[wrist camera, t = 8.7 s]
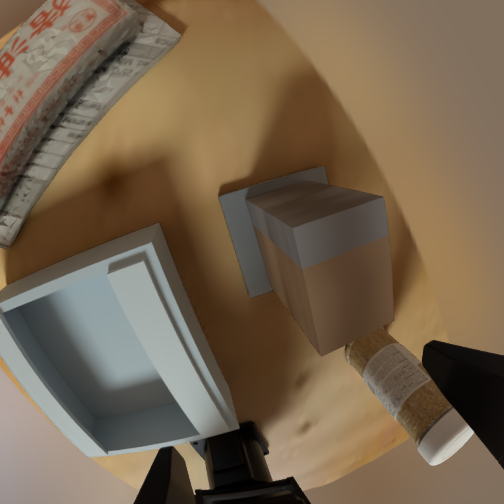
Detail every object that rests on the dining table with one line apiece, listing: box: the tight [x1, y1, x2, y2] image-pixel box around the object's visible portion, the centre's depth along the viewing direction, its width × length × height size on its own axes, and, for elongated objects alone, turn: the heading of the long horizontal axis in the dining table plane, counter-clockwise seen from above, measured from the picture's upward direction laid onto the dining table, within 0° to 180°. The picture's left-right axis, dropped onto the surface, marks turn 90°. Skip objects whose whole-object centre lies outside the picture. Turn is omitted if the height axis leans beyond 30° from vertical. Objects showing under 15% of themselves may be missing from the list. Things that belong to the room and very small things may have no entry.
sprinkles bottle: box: [345, 327, 474, 465], centre depth 18 cm, size 5×5×13 cm
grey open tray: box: [0, 223, 240, 457], centre depth 17 cm, size 14×13×5 cm
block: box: [245, 180, 394, 356], centre depth 15 cm, size 4×6×8 cm, turn 16°
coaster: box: [218, 166, 329, 298], centre depth 19 cm, size 7×7×1 cm
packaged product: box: [0, 0, 182, 249], centre depth 11 cm, size 18×5×10 cm
